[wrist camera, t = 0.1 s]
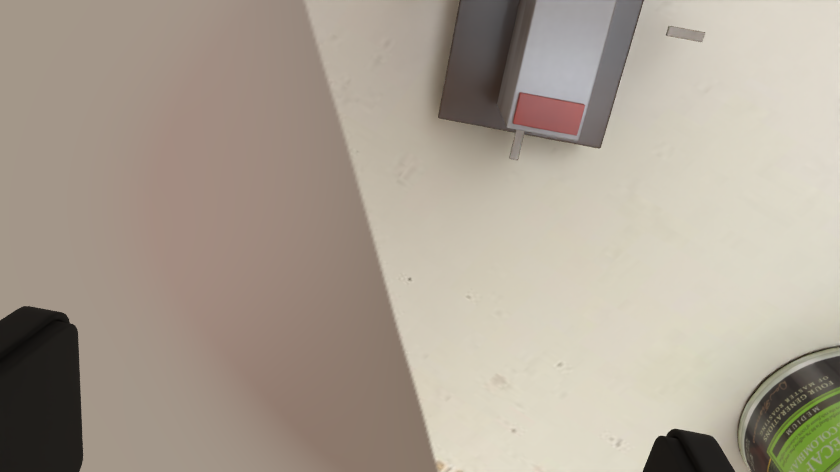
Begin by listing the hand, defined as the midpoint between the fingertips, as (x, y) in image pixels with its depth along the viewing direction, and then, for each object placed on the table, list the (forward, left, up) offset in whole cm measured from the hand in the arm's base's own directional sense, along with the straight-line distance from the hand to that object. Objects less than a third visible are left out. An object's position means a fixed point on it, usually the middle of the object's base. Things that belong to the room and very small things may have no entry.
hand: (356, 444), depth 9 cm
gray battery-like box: (-8, +4, -17) cm, 19 cm away
